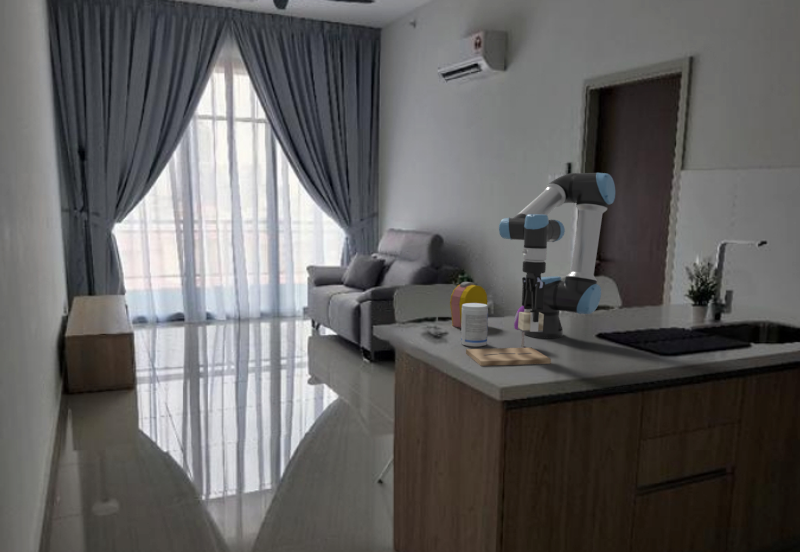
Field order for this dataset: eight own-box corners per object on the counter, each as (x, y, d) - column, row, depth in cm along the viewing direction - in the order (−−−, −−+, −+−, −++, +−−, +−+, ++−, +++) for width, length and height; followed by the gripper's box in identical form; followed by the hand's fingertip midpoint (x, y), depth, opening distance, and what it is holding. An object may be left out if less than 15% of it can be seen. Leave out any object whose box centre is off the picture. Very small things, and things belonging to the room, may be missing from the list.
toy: (533, 345, 232) (535, 305, 230) (530, 349, 226) (532, 307, 224) (514, 343, 234) (516, 303, 232) (511, 347, 228) (513, 306, 226)
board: (531, 351, 222) (531, 347, 222) (550, 363, 207) (551, 358, 207) (466, 353, 218) (466, 348, 217) (480, 365, 202) (481, 360, 202)
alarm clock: (471, 321, 273) (473, 279, 271) (486, 325, 267) (488, 282, 265) (448, 326, 263) (449, 282, 261) (463, 329, 257) (464, 284, 255)
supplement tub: (492, 345, 230) (493, 305, 228) (472, 348, 225) (473, 307, 223) (475, 340, 238) (476, 301, 236) (455, 343, 233) (456, 303, 231)
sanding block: (537, 329, 215) (538, 312, 215) (542, 332, 211) (543, 314, 210) (517, 329, 214) (518, 311, 213) (522, 332, 210) (524, 314, 209)
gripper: (513, 258, 217) (510, 324, 220) (534, 263, 200) (530, 335, 203) (534, 258, 219) (530, 324, 222) (556, 263, 202) (552, 335, 205)
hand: (530, 329), depth 212 cm, fingers closed on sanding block, 4 cm apart
